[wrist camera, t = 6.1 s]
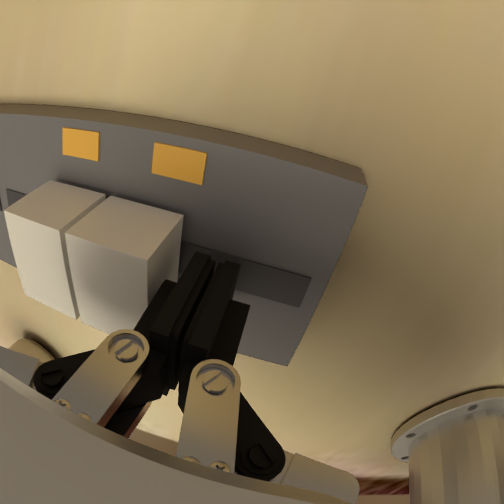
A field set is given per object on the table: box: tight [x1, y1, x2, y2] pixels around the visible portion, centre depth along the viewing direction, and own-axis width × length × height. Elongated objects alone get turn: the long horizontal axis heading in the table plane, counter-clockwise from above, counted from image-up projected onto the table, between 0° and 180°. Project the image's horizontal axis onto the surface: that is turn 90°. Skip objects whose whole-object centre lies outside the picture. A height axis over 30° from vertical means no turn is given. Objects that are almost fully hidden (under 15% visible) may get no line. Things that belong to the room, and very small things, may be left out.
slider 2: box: [65, 196, 184, 334], centre depth 12 cm, size 3×4×3 cm
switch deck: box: [0, 104, 368, 366], centre depth 14 cm, size 26×10×2 cm, turn 78°
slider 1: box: [4, 180, 106, 320], centre depth 12 cm, size 3×4×3 cm
